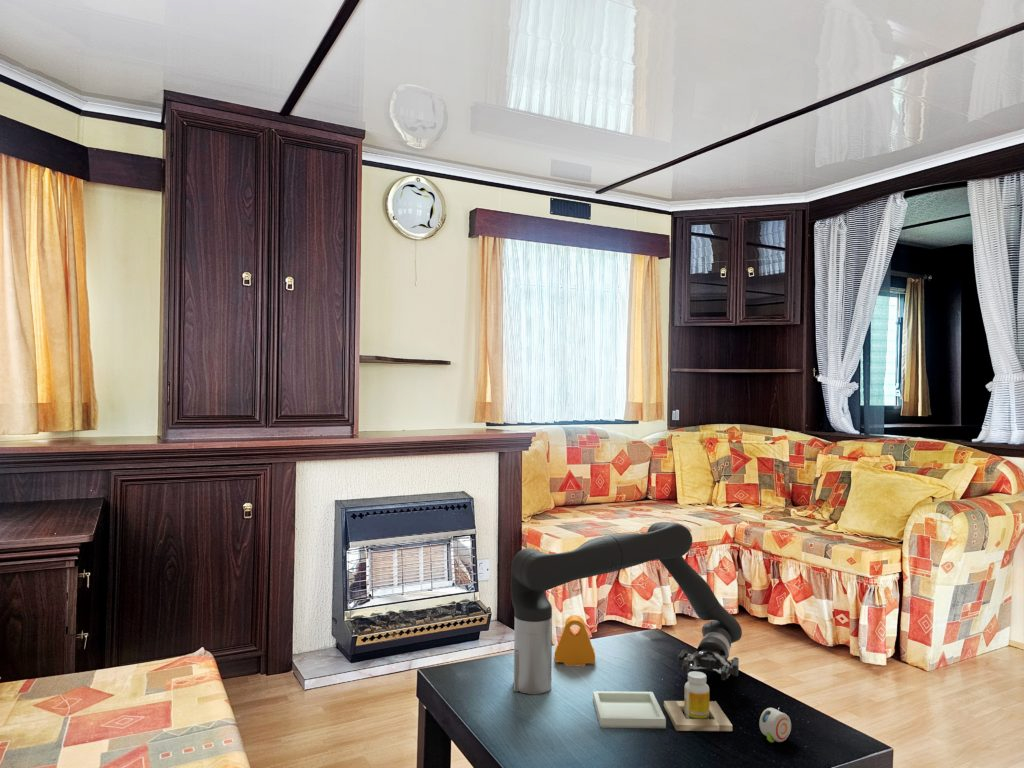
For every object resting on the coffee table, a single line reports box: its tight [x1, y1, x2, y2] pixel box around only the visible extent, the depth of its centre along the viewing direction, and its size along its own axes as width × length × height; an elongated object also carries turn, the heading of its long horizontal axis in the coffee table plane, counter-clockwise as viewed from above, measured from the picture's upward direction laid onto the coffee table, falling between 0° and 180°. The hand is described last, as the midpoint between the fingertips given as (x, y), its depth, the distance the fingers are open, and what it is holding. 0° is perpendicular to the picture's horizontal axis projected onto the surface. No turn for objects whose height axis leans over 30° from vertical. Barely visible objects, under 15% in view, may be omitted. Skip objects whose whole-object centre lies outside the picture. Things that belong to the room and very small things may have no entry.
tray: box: [592, 690, 667, 729], centre depth 156 cm, size 14×14×2 cm
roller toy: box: [758, 707, 792, 743], centre depth 145 cm, size 4×6×6 cm
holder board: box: [663, 700, 733, 732], centre depth 154 cm, size 12×12×1 cm
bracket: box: [554, 614, 596, 667], centre depth 188 cm, size 11×7×12 cm, turn 85°
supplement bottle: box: [683, 670, 710, 719], centre depth 154 cm, size 5×5×10 cm
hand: (704, 672), depth 164 cm, fingers open, 8 cm apart
